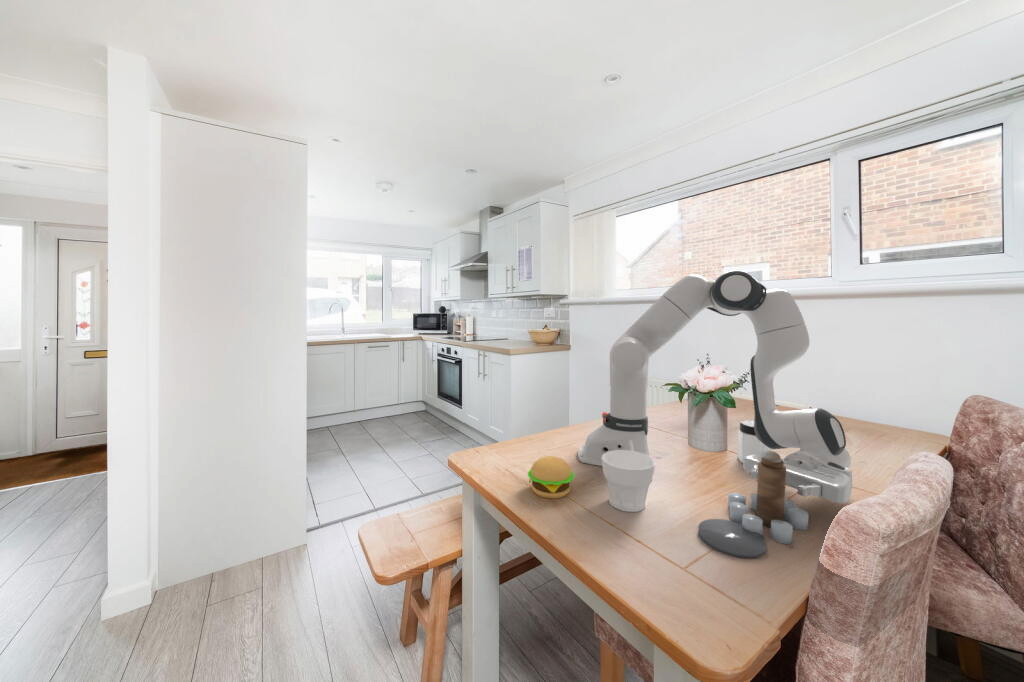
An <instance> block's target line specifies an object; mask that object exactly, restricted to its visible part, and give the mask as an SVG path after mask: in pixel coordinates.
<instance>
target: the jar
mask: <svg viewBox="0 0 1024 682" xmlns="http://www.w3.org/2000/svg"><path fill="white" fill-rule="evenodd" d="M737 432H738V433H737V434H738V435H737V437H738V438H737V456H736V457H737V458H738V460H739V461H740V463H742V464H743V460H744V457H745V456H748V455H752V454H766V453H767V452H769V451H772V449H771V448H769V447H767V446H766V445H764V444H763V443H762V442H761V441H760V440H759V439H758V438H757V437H756V435H755V431H754V420H747V419H746V420H741V421H739V428H738V431H737Z"/></svg>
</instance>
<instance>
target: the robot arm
mask: <svg viewBox="0 0 1024 682" xmlns="http://www.w3.org/2000/svg"><path fill="white" fill-rule="evenodd" d="M705 309H708V310H710V311H713V312H715V313H717V314H720V315H722V316H727V317H734V316H737V315H741V314H744V315H745V316H747V317H748V319H750V321H751V323H752V325H753V328H754V332H755V335H756V336H755V337H756V340H757V346H756V352H755V354H754V355H753V356H752V357H751V358H750V365H749V366H750V370H749V371H750V381H751V390H752V399H753V410H754V417H753V418H754V419H753V421H754V431H755V435H756V437H757V438H758V439H759V440H760V441H761V442H762V443H763V444H764V445H766V446H767V447H769V448H771V450H781V449H782V450H783V449H791V448H792V449H797V448H798V449H799V450H797V451H795V452H792V453H789V454H787V455H786V456H785V457H784V459H783V458H781V460H782V461H783V462H784V466H785V467H786V484H785V486H787V487H790V488H792V489H796V490H797V491H796V493H797V495H800V496H802V497H804V498H806V497H809V496H810V497H818V498H822V499H825V500H828V501H830V502H833V503H835V504H846V503H847V502H849V500H850V497H851V494H852V489H853V471H852V470H851V469H850V467H851V465H852V459H851V455H850V452H849V451H848V450H847V448H846V446H847V440H846V434H845V431H844V429H843V426H842V424H841V422H840V421H839V419H837V417H835V416H834V415H833V414H832V413H831V412H829V411H827V410H825V409H823V408H820V407H819V408H804V409H802V408H801V409H796V410H795V409H793V410H792V409H791V410H778V408H777V407H776V400H775V399H776V398H775V390H774V379H775V377H776V375H777V374H778V373H779V372H780V371H782V370H783V369H784V368H786V367H788V366H790V365H792V364H794V363H795V362H797V361H798V360H800V359H801V358H802V357H803V356H804V355H805V354H806V353H807V352H808V349H809V347H810V336H809V331H808V328H807V325H806V322H805V319H804V317H803V314H802V312H801V310H800V308H799V306H798V304H797V303H796V301H795V299H794V297H793V296H792V294H791V293H790V292H789V291H788V290H785V289H780V288H773V289H768V290H767V287H766V286H765V285H764V284H762V283H761V282H760V281H758V280H757V279H756V278H755V277H754V276H753V275H752V274H751V273H748V272H746V271H743V270H730V271H726V272H725V273H723V274H721V275H720V276H718V277H717V278H716V279H715V280H713V281H710V280H707V279H706V278H705V277H703V276H702V275H700V274H694V273H691V274H687V275H685V276H684V277H683V278H681V279H680V280H678V281H677V282H675V283H674V284H673V285H671V287H669V288H668V289H667V290H666V291H664V293H663V294H662V295H661V296H660V297H659V298H658V299H657V300H656V301H655V302H654V303H653V304H652V305H651V306H650V307H649V308H648V309H647V310H646V311H645V312H644V313H643V314H642V315H641V316H640V317H639V318H637V320H636V321H634V323H633V324H632V325H631V326H630V327H629V328H628V329H627V330H626V331H625V332H624V333H622V335H621V336H620V337H619V338H618V339H617V340H616V341H615V342H614V344H613V345H612V346H611V349H610V352H609V387H610V388H609V398H610V399H609V412H607V411H603V412H602V414H601V417H602V425H600V426H599V427H597V428H595V429H594V430H593V431H591V432H590V433H589V434H588V435H587V436H586V439H585V442H584V445H583V446H581V447H580V448H579V449H578V451H577V459H578V461H579V462H581V463H584V464H588V465H593V466H599V467H603V466H602V458H601V457H602V455H603V454H604V453H606V452H609V451H614V450H628V451H635V452H639V453H642V454H645V455H647V456H649V457H651V455H650V453H649V452H650V451H649V446H648V437H647V436H648V432H649V417H648V415H647V411H648V410H647V409H648V408H647V407H648V406H647V405H648V382H649V381H648V379H649V378H648V377H649V361H650V360H649V359H650V358H651V357H652V356H653V355H654V354H655V353H656V352H657V351H659V350H660V349H661V348H663V347H664V346H665V345H666V344H668V343H669V342H670V341H671V340H672V339H673V338H675V336H676V335H678V333H679V332H681V330H683V329H684V327H686V326H687V325H688V324H689V323H690V322H691V321H692V320H693V319H695V317H696V316H698V314H700V313H701V311H704V310H705ZM764 455H765V454H752V455H748V456H745V457H744V460H743V463H742V466H743V470H744V471H745V472H747V473H750V478H751V479H755V480H757V481H758V463H759V462H760V461H761V458H762V457H764Z"/></svg>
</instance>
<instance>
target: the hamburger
mask: <svg viewBox="0 0 1024 682" xmlns="http://www.w3.org/2000/svg"><path fill="white" fill-rule="evenodd" d="M527 477H528V478H529V479H528V480H529V481H528V483H529V484H530V485H531V490H532V491H533V493H535V494H536V495H538V496H539V497H541V498H544V499H560V498H563V497H566V496H567V495H569V492H570V491H571V484H572V483H574V482H573V480H574V479H575V473H574V472H573V470H572V468H571V467H570V465H569V463H568V462H566V461H565V460H564V459H563V458H561V457H558V456H553V455H546V456H543V457H539V458H538V459H537V460H536V461H534V462H533V464H532V466H531V468H530V469H529V471H527Z"/></svg>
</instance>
